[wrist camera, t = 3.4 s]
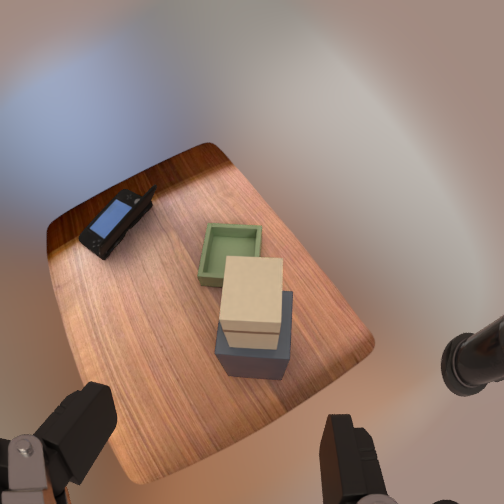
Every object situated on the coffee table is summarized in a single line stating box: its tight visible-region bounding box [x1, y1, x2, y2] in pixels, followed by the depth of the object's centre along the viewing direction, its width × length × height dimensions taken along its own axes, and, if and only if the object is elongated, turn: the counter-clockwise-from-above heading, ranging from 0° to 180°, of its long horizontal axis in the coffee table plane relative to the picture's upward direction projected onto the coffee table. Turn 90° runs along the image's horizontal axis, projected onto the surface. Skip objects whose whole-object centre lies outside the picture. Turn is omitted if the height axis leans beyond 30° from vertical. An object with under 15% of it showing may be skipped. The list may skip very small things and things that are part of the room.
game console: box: [79, 185, 157, 260], centre depth 57 cm, size 16×14×9 cm
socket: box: [197, 223, 262, 287], centre depth 54 cm, size 10×11×4 cm
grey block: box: [215, 291, 293, 380], centre depth 41 cm, size 8×8×15 cm
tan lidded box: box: [219, 256, 283, 350], centre depth 30 cm, size 5×6×9 cm
